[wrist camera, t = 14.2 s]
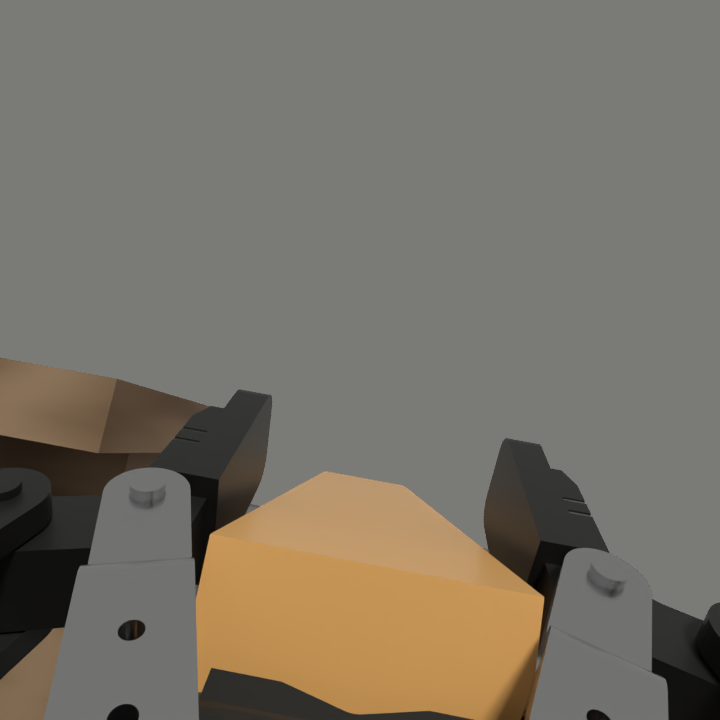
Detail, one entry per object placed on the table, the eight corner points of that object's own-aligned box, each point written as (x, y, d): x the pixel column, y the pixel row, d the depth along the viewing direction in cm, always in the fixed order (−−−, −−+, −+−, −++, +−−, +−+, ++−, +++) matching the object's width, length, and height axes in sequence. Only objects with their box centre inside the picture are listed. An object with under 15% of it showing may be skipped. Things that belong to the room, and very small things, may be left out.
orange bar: (393, 547, 28) (403, 485, 28) (509, 884, 6) (544, 597, 7) (313, 532, 28) (325, 471, 28) (150, 810, 6) (210, 534, 7)
